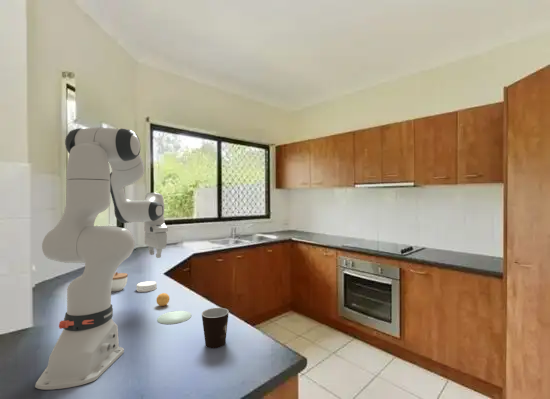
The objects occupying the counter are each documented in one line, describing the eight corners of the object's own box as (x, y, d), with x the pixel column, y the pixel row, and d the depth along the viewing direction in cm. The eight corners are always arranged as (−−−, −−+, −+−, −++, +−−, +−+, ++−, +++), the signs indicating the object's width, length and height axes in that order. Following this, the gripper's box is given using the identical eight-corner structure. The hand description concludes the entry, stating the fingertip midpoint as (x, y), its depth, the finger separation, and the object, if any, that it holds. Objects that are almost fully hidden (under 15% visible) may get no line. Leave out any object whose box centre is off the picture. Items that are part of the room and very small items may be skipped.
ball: (168, 307, 125) (168, 294, 125) (155, 308, 124) (155, 295, 124) (170, 303, 131) (170, 291, 131) (157, 304, 129) (157, 292, 130)
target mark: (189, 322, 109) (189, 321, 109) (154, 325, 106) (154, 325, 106) (192, 310, 121) (192, 309, 121) (160, 312, 119) (160, 312, 119)
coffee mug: (215, 352, 86) (215, 319, 86) (196, 345, 90) (196, 314, 91) (240, 337, 96) (239, 307, 96) (221, 331, 100) (221, 303, 100)
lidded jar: (120, 292, 147) (120, 274, 147) (100, 292, 147) (100, 274, 148) (131, 286, 158) (131, 270, 158) (112, 286, 158) (112, 270, 158)
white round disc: (149, 286, 160) (149, 279, 160) (160, 288, 155) (160, 282, 155) (132, 290, 151) (132, 284, 151) (144, 293, 146) (144, 286, 146)
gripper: (141, 225, 140) (141, 253, 140) (154, 229, 124) (155, 260, 124) (154, 225, 144) (154, 252, 144) (169, 228, 128) (169, 258, 129)
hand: (155, 256), depth 134 cm, fingers open, 8 cm apart
